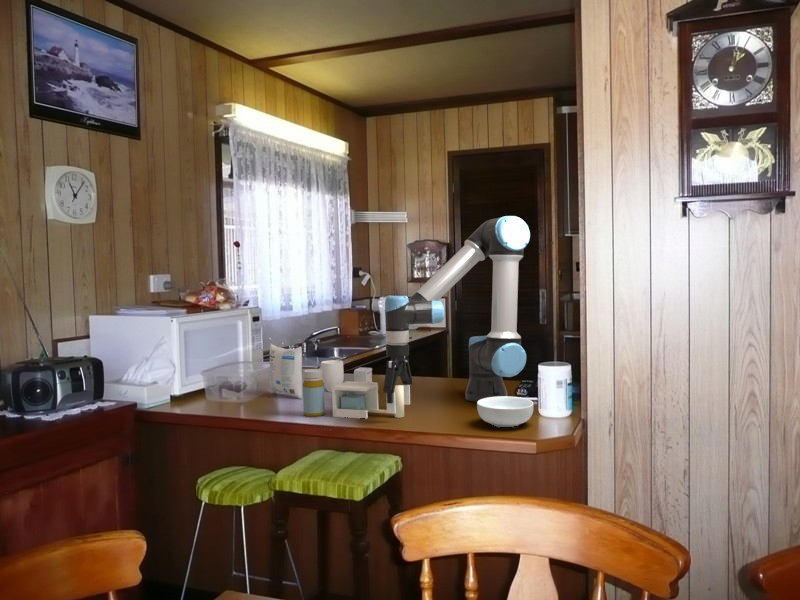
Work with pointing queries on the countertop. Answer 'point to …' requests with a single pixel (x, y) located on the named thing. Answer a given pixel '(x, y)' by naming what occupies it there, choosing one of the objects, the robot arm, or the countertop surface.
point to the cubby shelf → (355, 388)
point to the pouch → (286, 370)
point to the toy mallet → (359, 404)
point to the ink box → (363, 375)
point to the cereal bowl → (505, 410)
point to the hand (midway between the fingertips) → (398, 408)
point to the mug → (332, 373)
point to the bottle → (313, 393)
